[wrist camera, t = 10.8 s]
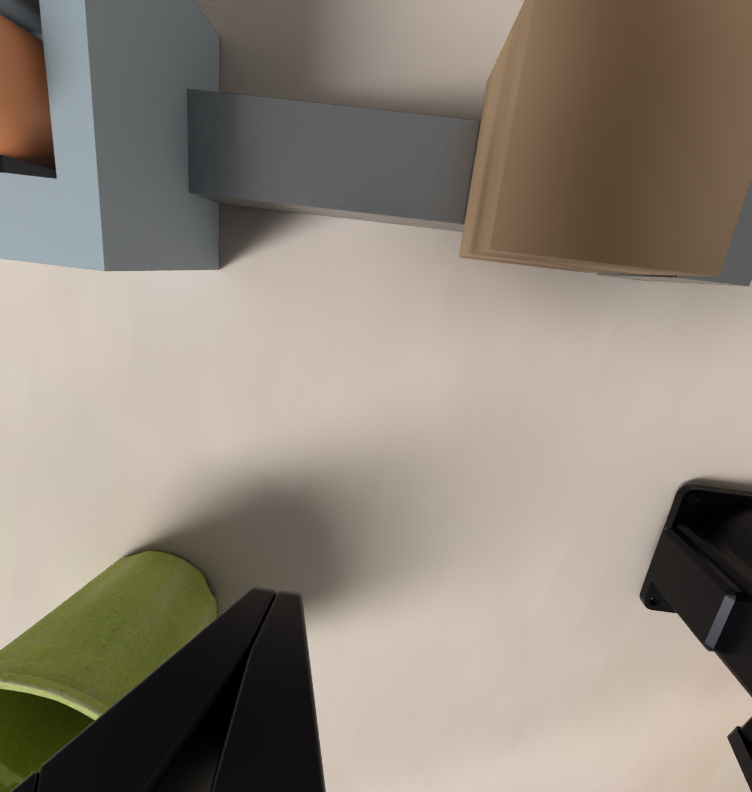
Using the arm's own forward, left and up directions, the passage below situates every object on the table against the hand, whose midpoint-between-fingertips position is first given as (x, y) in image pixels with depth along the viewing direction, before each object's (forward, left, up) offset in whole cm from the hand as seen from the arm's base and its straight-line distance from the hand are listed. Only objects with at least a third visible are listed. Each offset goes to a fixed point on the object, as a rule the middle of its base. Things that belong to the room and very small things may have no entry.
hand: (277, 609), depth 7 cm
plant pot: (+9, +12, -12) cm, 19 cm away
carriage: (-6, -9, -11) cm, 15 cm away
